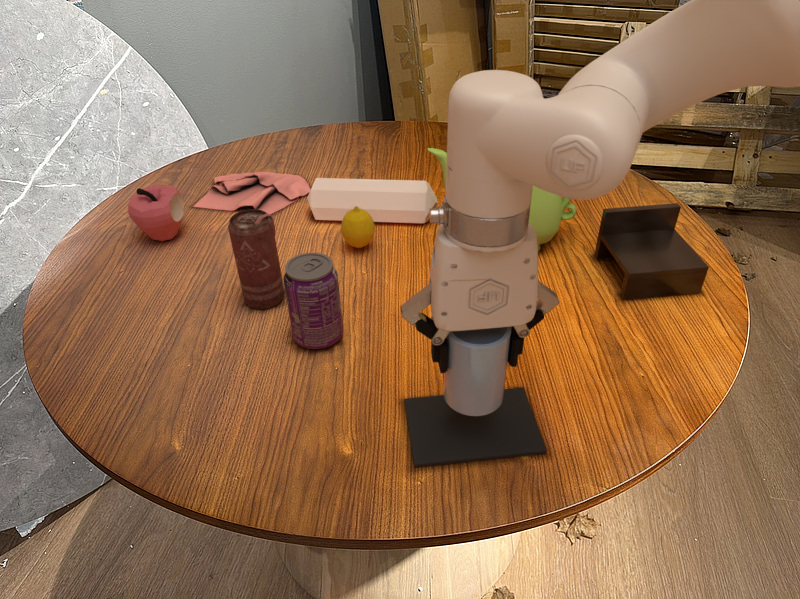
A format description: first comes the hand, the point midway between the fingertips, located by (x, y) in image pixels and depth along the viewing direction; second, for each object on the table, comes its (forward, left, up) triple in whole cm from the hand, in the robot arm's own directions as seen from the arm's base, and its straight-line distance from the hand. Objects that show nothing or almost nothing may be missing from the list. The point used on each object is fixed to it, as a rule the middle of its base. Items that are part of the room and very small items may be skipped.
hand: (475, 360), depth 66 cm
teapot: (-14, -45, -11) cm, 48 cm away
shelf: (-33, -27, -11) cm, 44 cm away
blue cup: (0, 0, -5) cm, 5 cm away
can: (+26, -29, -11) cm, 40 cm away
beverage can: (+18, -19, -11) cm, 28 cm away
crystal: (+8, -52, -11) cm, 54 cm away
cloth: (+31, -64, -11) cm, 72 cm away
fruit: (+11, -41, -11) cm, 44 cm away
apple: (+45, -50, -11) cm, 68 cm away
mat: (0, 0, -11) cm, 11 cm away
